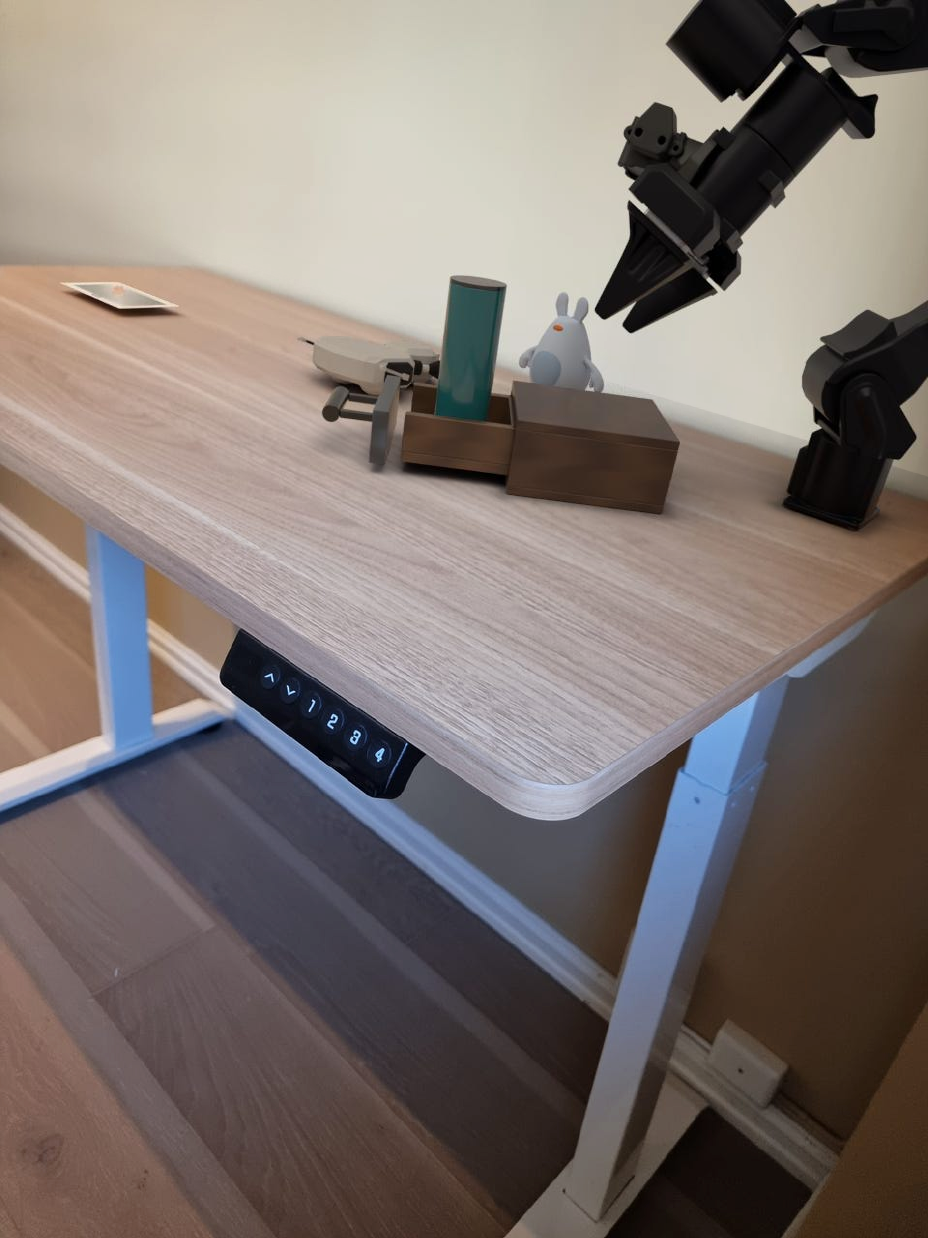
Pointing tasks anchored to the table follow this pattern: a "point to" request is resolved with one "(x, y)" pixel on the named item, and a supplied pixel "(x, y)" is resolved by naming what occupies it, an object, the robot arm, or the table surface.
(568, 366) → the toy figure
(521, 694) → the table surface
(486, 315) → the lidded cylindrical canister
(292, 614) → the table surface
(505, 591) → the table surface
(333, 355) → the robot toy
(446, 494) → the table surface
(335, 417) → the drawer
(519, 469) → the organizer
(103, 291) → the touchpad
